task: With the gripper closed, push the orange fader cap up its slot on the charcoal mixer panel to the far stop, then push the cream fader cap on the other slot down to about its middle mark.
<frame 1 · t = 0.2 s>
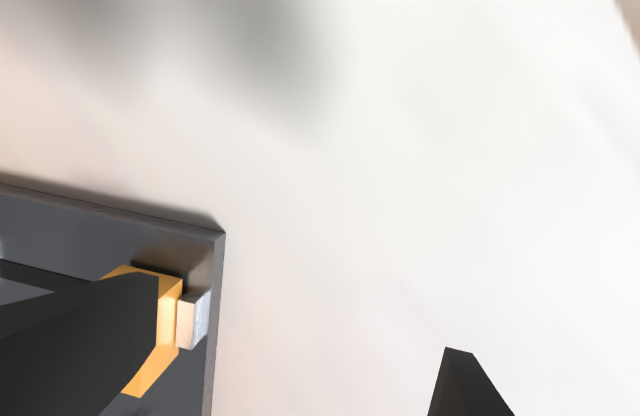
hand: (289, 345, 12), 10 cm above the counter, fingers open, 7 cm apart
fader 1: (130, 327, 21), point 3 cm above the counter, slide at 0.3 cm
mixer panel: (84, 341, 26), on the counter
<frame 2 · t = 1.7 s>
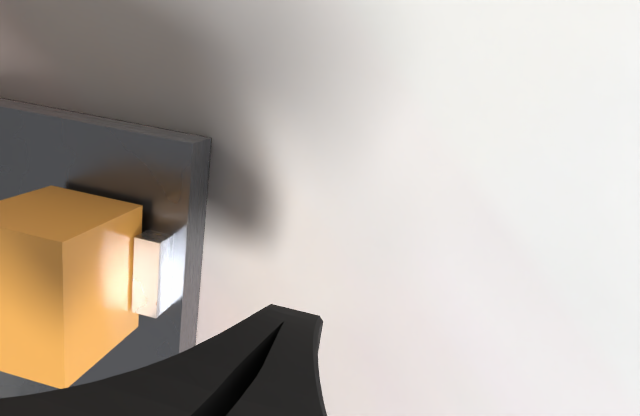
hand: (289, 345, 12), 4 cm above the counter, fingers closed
fader 1: (57, 278, 13), point 3 cm above the counter, slide at 0.3 cm
mixer panel: (9, 312, 18), on the counter
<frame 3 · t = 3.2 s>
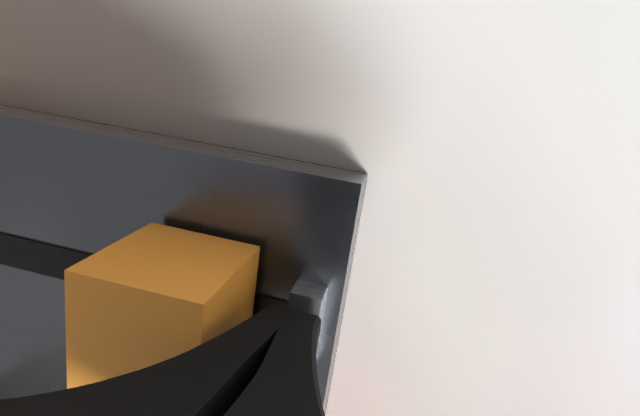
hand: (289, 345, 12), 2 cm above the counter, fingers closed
fader 1: (169, 333, 11), point 3 cm above the counter, slide at 1.2 cm, touching gripper
mixer panel: (108, 361, 16), on the counter
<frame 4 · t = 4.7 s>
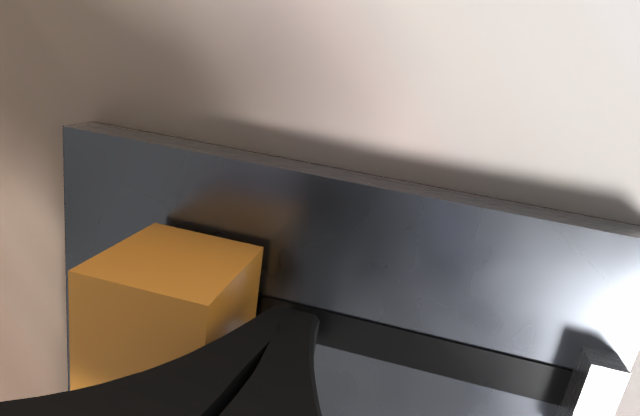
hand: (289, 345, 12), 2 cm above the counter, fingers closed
fader 1: (172, 334, 11), point 3 cm above the counter, slide at 8.1 cm, touching gripper
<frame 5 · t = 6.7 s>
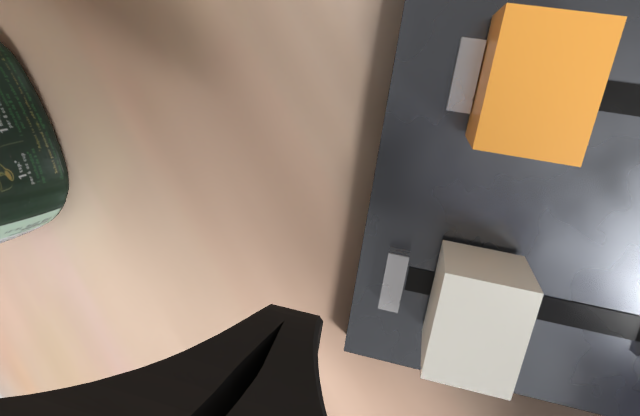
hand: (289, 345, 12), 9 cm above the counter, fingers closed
fader 1: (533, 85, 15), point 3 cm above the counter, slide at 8.1 cm
mixer panel: (571, 202, 18), on the counter
fader 2: (474, 314, 17), point 3 cm above the counter, slide at 5.0 cm
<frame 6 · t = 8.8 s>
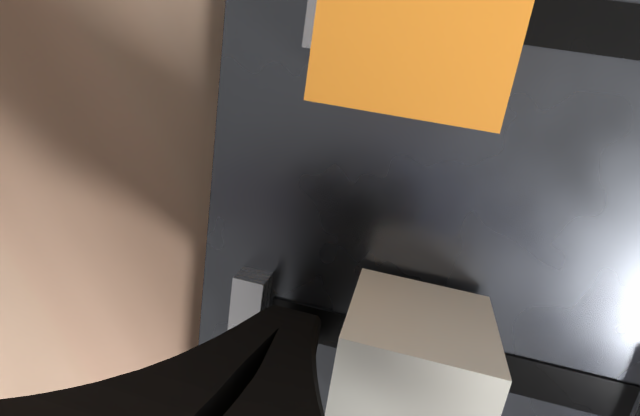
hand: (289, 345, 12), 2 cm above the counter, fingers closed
mixer panel: (516, 201, 12), on the counter
fader 2: (404, 394, 10), point 3 cm above the counter, slide at 3.8 cm, touching gripper
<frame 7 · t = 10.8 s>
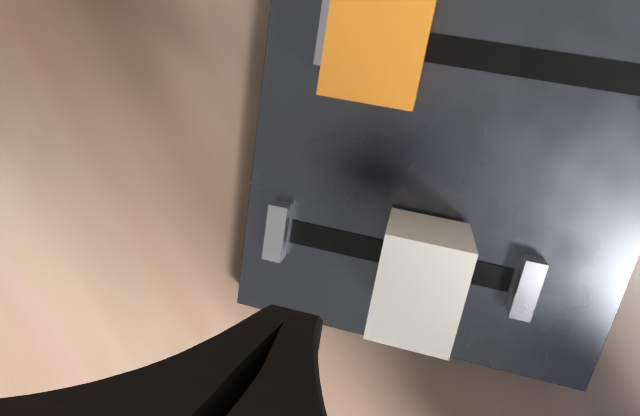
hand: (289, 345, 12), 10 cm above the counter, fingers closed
fader 1: (380, 37, 15), point 3 cm above the counter, slide at 8.1 cm
mixer panel: (443, 158, 19), on the counter
fader 2: (418, 279, 17), point 3 cm above the counter, slide at 2.1 cm
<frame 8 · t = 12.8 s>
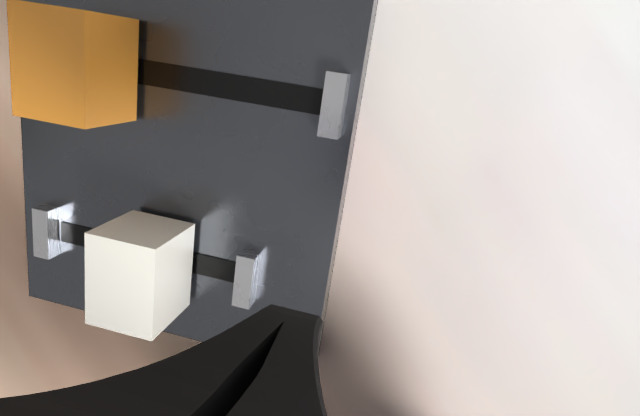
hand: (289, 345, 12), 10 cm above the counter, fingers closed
fader 1: (78, 65, 18), point 3 cm above the counter, slide at 8.1 cm
mixer panel: (184, 166, 22), on the counter
fader 2: (141, 272, 20), point 3 cm above the counter, slide at 2.1 cm
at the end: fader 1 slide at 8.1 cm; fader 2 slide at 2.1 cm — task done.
